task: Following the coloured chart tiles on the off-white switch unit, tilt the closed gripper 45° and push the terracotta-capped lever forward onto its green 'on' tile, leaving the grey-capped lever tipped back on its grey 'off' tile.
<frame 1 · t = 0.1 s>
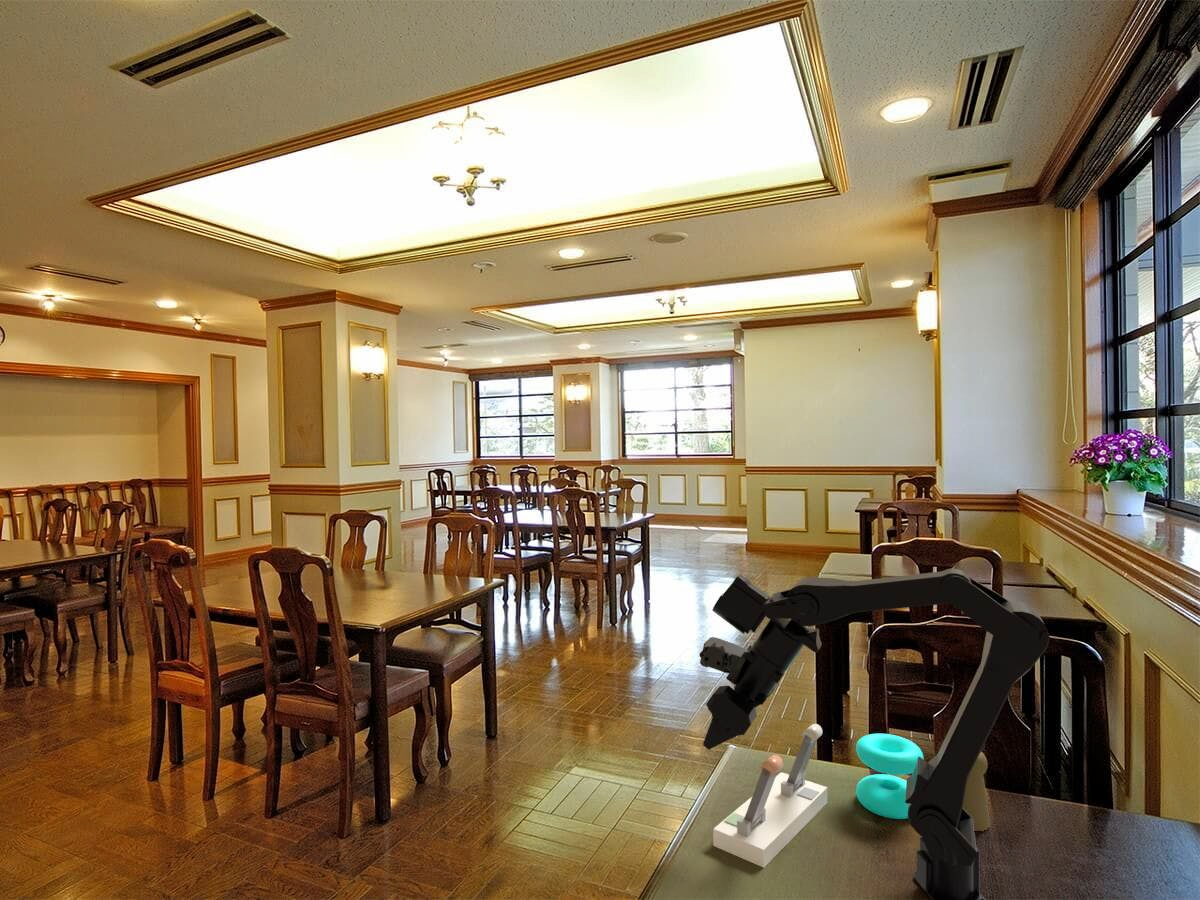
hand: (715, 734, 103), 15 cm above the table, tool tilted 35°, fingers open, 9 cm apart
switch unit: (773, 823, 106), on the table
terracotta lever: (761, 792, 99), point 8 cm above the table, hinge at -20.0°
grey lever: (803, 757, 110), point 8 cm above the table, hinge at -20.0°
cork: (967, 821, 106), on the table
teal curved piece: (889, 806, 110), on the table
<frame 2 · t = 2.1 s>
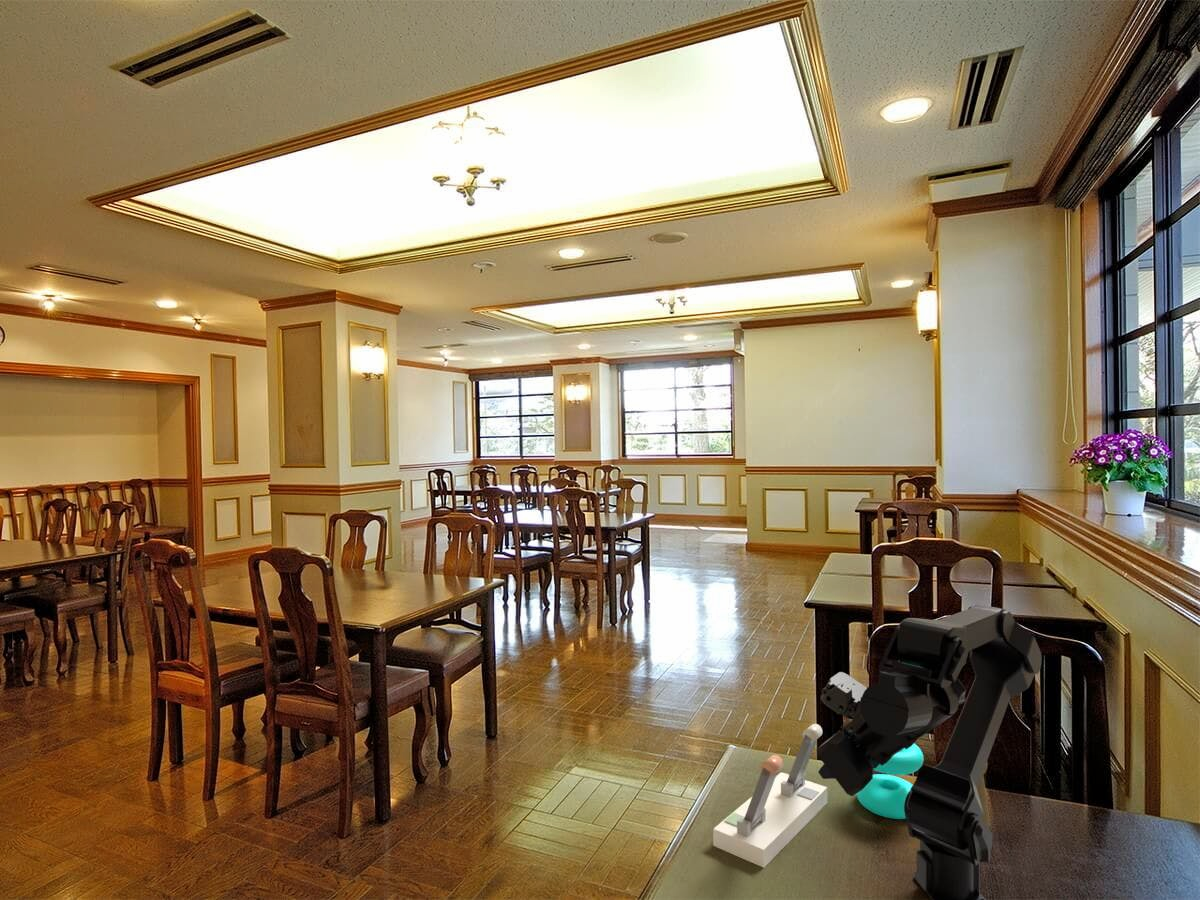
hand: (821, 774, 93), 13 cm above the table, tool tilted 45°, fingers closed
nothing on the table moved.
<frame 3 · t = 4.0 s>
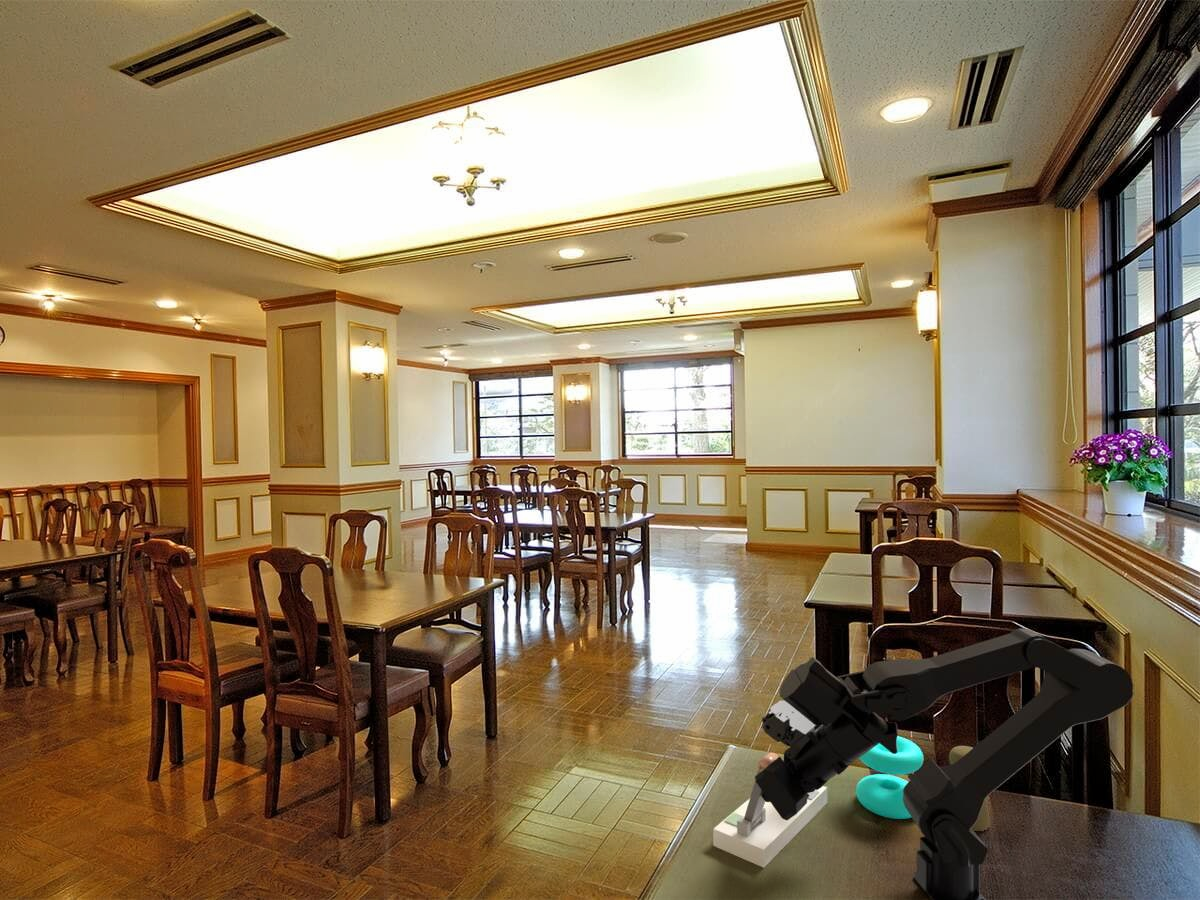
hand: (764, 797, 98), 8 cm above the table, tool tilted 45°, fingers closed, pressing on terracotta lever
terracotta lever: (760, 791, 99), point 8 cm above the table, hinge at -16.7°, touching gripper
everything else where it was.
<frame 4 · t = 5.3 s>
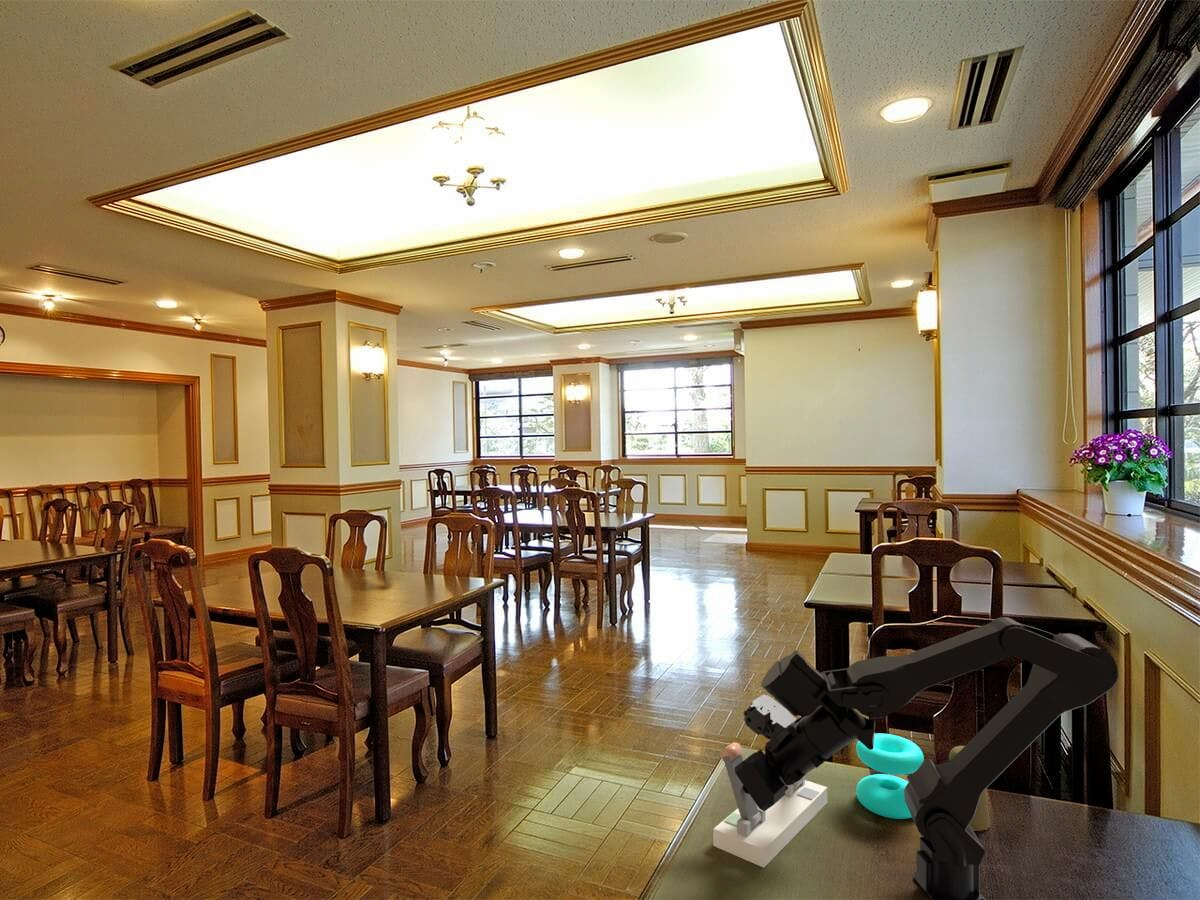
hand: (745, 789, 100), 8 cm above the table, tool tilted 45°, fingers closed, pressing on terracotta lever
terracotta lever: (741, 785, 101), point 8 cm above the table, hinge at 20.3°, touching gripper
everything else where it was.
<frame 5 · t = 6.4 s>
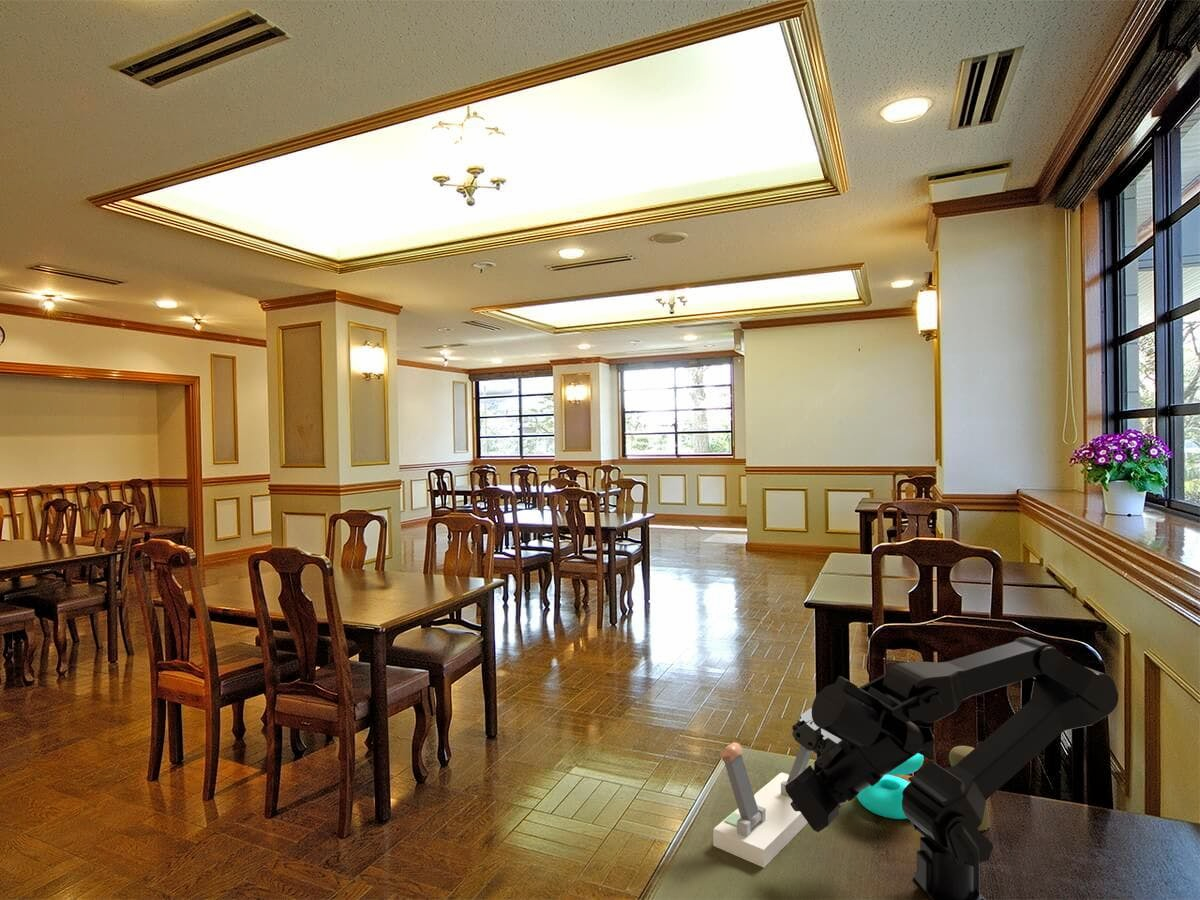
hand: (793, 806, 96), 8 cm above the table, tool tilted 45°, fingers closed
terracotta lever: (741, 785, 101), point 8 cm above the table, hinge at 20.4°
everything else where it was.
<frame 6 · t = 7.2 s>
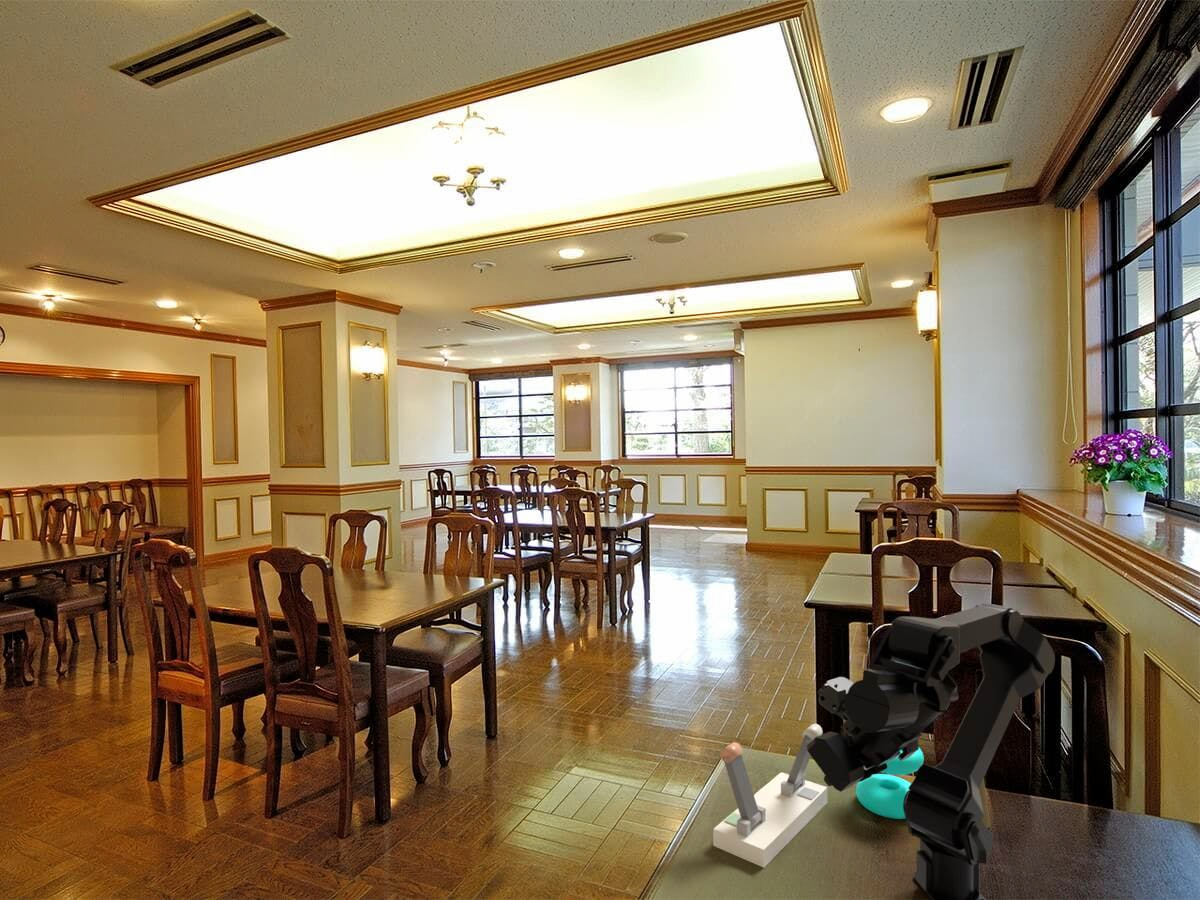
hand: (827, 782, 93), 12 cm above the table, tool tilted 40°, fingers closed
nothing on the table moved.
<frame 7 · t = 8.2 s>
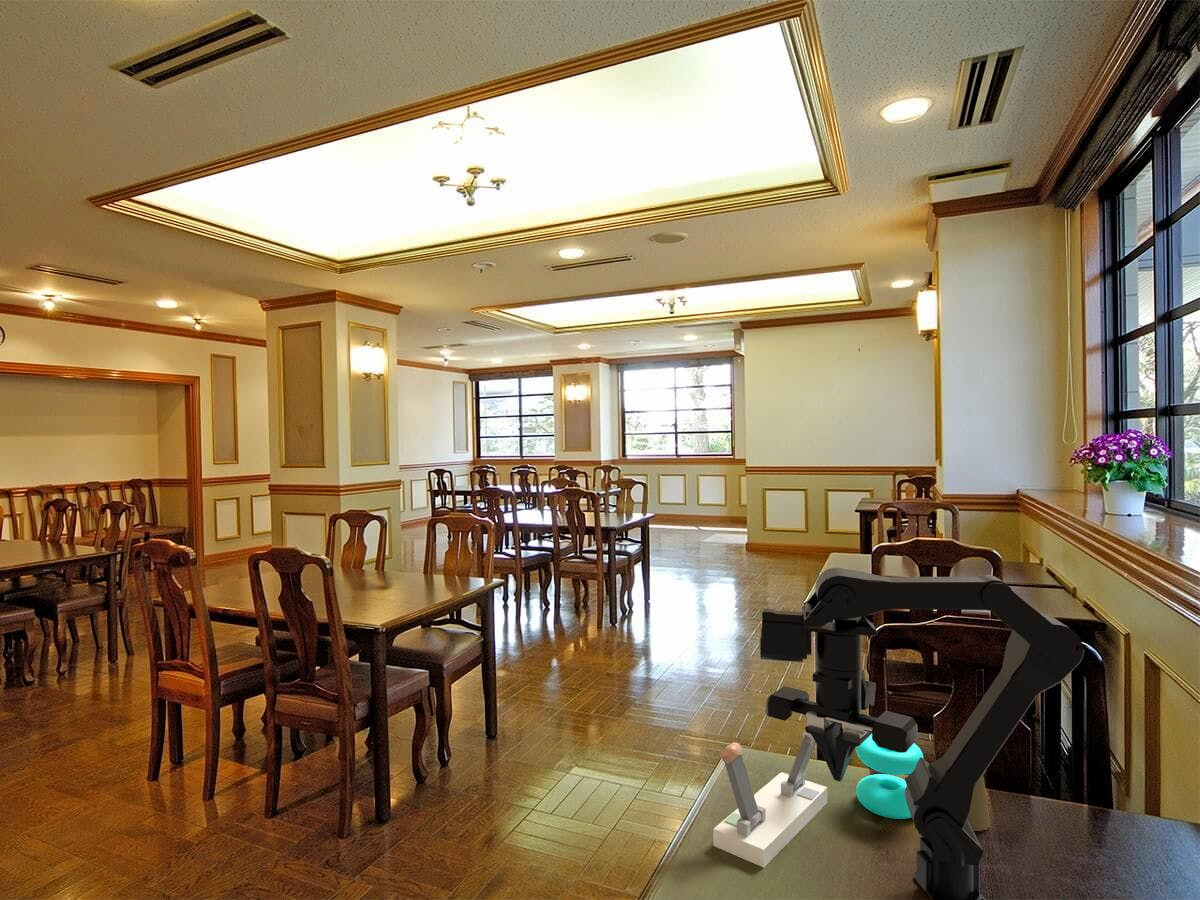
hand: (838, 779, 93), 13 cm above the table, tool pointing down, fingers closed
nothing on the table moved.
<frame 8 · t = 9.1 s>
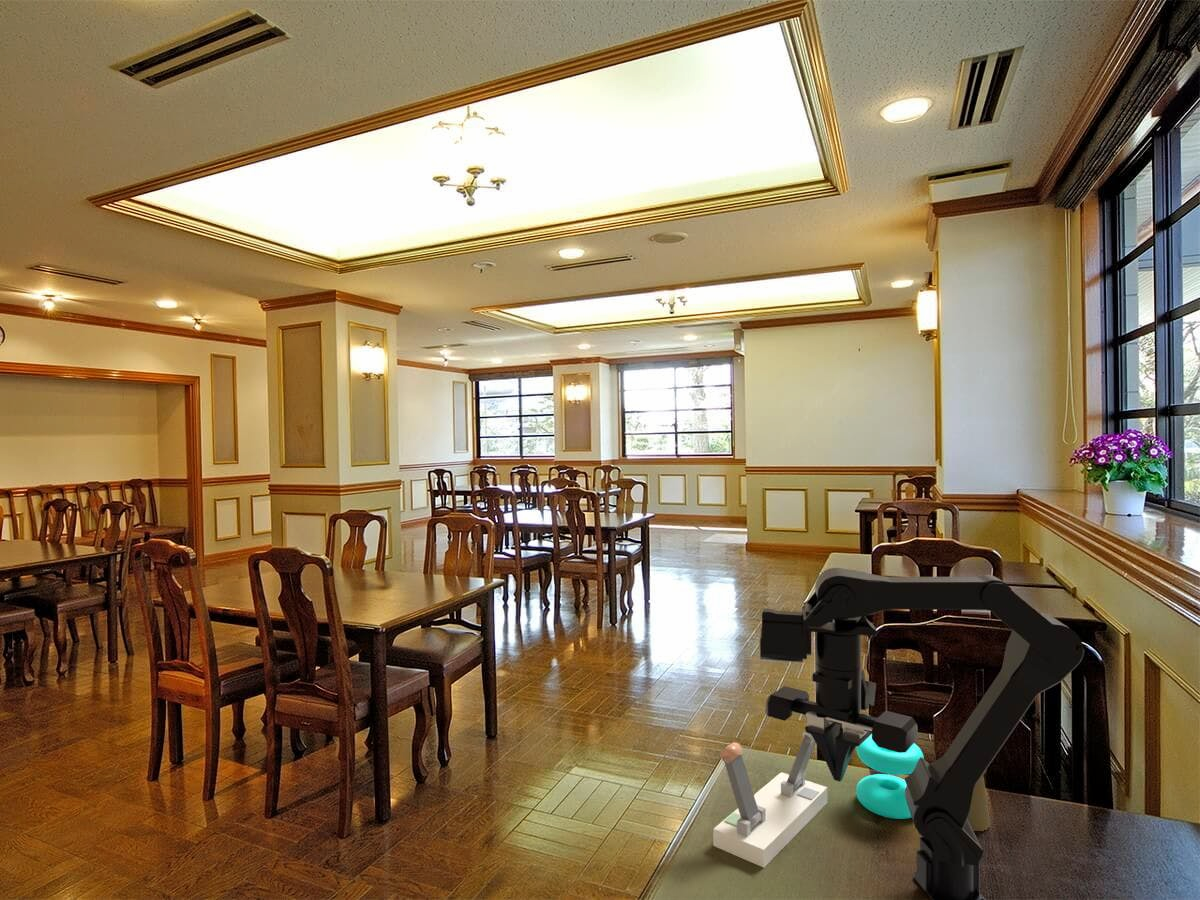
hand: (838, 779, 93), 13 cm above the table, tool pointing down, fingers closed
nothing on the table moved.
at the end: terracotta lever at +20° (first picture: -20°); grey lever at -20° (first picture: -20°) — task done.
